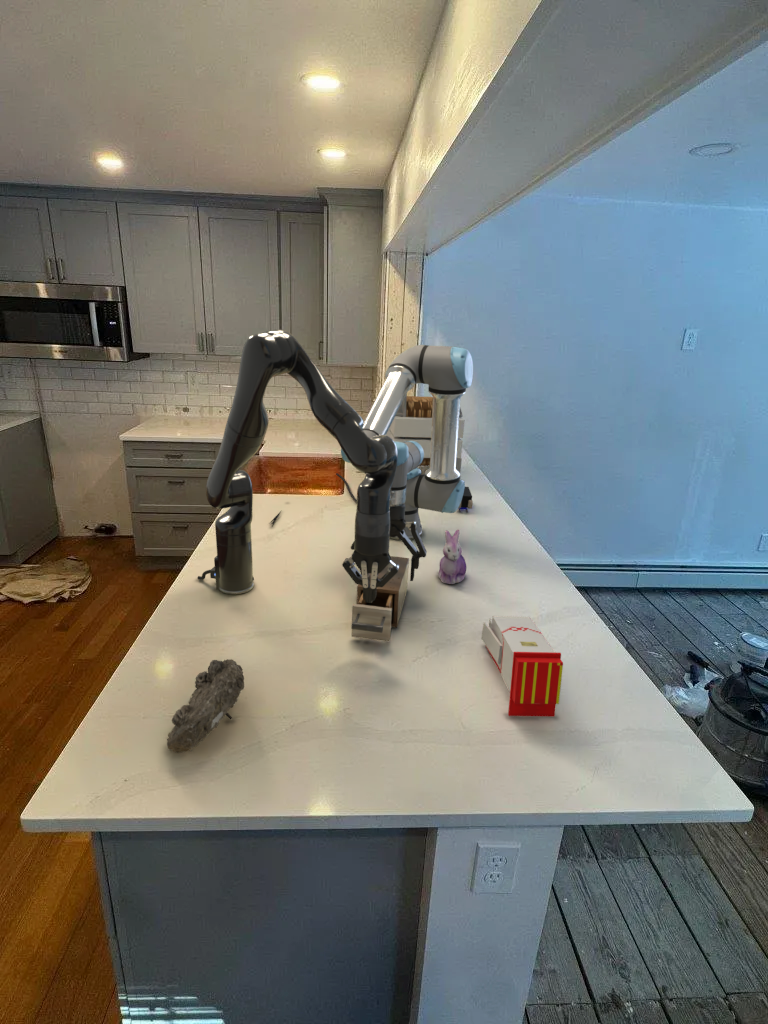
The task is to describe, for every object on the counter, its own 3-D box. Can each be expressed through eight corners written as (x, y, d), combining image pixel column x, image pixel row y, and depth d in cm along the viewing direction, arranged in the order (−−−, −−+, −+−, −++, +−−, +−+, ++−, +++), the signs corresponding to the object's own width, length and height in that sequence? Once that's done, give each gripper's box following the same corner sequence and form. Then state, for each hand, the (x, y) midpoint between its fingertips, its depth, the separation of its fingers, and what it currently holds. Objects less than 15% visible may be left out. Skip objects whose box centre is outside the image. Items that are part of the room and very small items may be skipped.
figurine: (448, 588, 162) (452, 539, 157) (429, 573, 171) (432, 527, 166) (475, 582, 166) (480, 534, 161) (455, 568, 175) (459, 522, 170)
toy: (528, 601, 136) (572, 659, 107) (523, 653, 139) (565, 722, 110) (478, 600, 136) (508, 657, 107) (474, 652, 139) (503, 722, 109)
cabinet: (396, 627, 141) (398, 591, 138) (356, 622, 143) (357, 586, 139) (407, 591, 160) (409, 558, 156) (370, 586, 161) (372, 553, 158)
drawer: (385, 655, 128) (387, 623, 125) (345, 650, 129) (346, 618, 126) (400, 603, 151) (402, 575, 148) (366, 599, 152) (367, 571, 149)
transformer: (382, 463, 289) (386, 382, 275) (445, 464, 293) (451, 384, 279) (390, 482, 257) (394, 392, 243) (460, 483, 261) (468, 394, 247)
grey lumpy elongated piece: (192, 660, 117) (244, 628, 112) (224, 691, 120) (276, 661, 115) (142, 746, 98) (202, 712, 93) (182, 779, 101) (242, 748, 96)
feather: (288, 505, 226) (290, 501, 226) (271, 529, 199) (273, 524, 199) (284, 503, 226) (287, 499, 225) (266, 526, 199) (269, 522, 199)
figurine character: (472, 517, 222) (467, 501, 236) (475, 500, 219) (469, 484, 233) (455, 517, 222) (451, 500, 236) (457, 499, 219) (452, 484, 232)
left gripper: (337, 532, 119) (336, 605, 124) (400, 539, 117) (396, 613, 123) (346, 520, 126) (344, 590, 131) (405, 526, 124) (401, 596, 130)
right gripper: (340, 502, 145) (339, 577, 152) (437, 511, 141) (431, 587, 149) (347, 493, 152) (345, 565, 159) (440, 502, 148) (434, 575, 156)
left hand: (369, 601), depth 127 cm, fingers closed
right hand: (387, 576), depth 154 cm, fingers open, 13 cm apart
